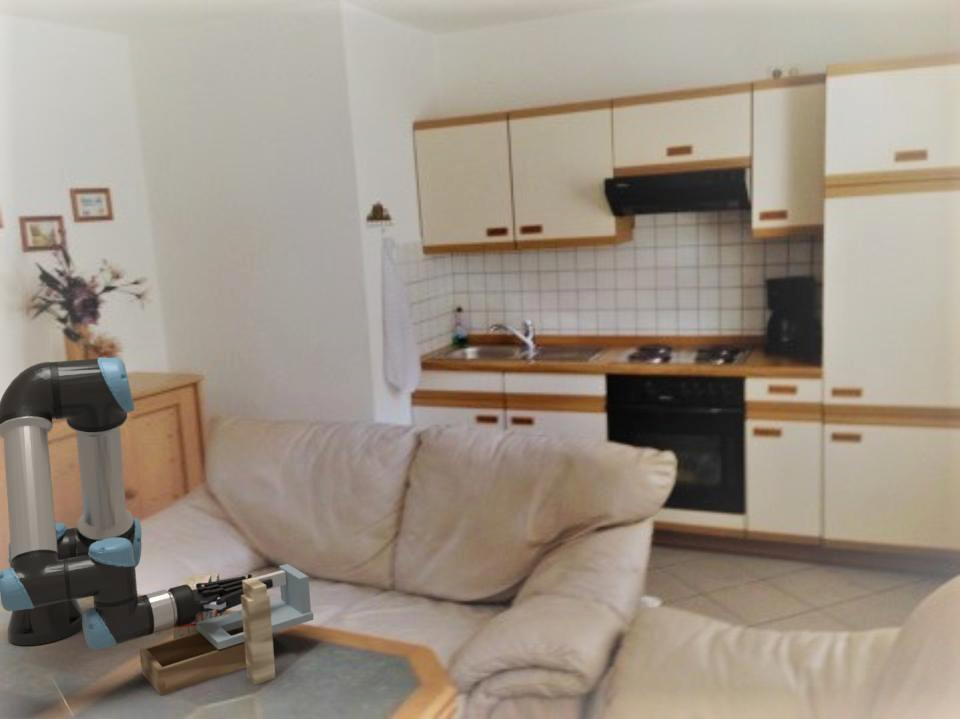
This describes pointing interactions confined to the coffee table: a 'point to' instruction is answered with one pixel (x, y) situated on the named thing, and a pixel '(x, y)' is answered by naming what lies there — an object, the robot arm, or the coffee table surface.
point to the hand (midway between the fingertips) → (284, 577)
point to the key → (257, 631)
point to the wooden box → (189, 661)
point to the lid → (283, 611)
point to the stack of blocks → (201, 615)
